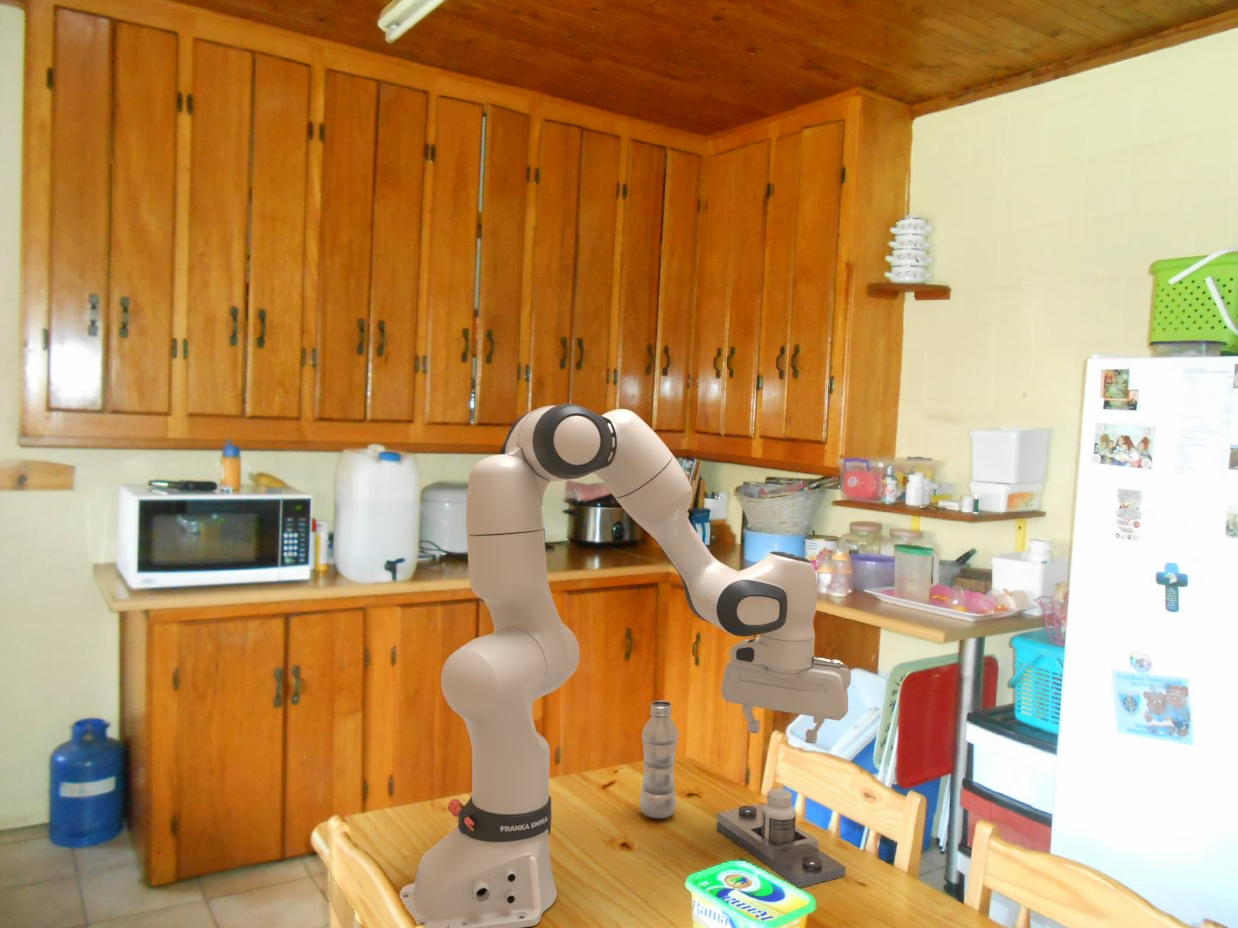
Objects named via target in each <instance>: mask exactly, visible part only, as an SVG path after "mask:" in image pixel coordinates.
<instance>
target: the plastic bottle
mask: <svg viewBox="0 0 1238 928" xmlns="http://www.w3.org/2000/svg"><path fill="white" fill-rule="evenodd" d="M672 706H673V705H672V702H669V701H666V700H655V701H652V702H651V703H650V712H649V715H650V718H649V719H648V720H647V722H646V723H645V724H644V726H643V729H642V733H641V739H642V740H641V741H642V749H643V763H644V764H643V776H642V777H643V778H642V787H641V791H640V795H639V796H640V797H639V806H640V811H641V812H642V814H643V815H644V816H645V817H646V818H649V819H655V820H664V819H668V818H670V817H671V816H673V814H674V813H675V811H676V808H677V807H676V806H677V795H676V790H675V760H676V759H675V758H676V752H677V747H678V739H679V733H678V732H679V731H678V729H677V726H676V724H675V723H674V721H673V720H672V718H671V716H672V715H673V711H672Z"/></svg>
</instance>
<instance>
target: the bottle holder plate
mask: <svg viewBox="0 0 1238 928" xmlns="http://www.w3.org/2000/svg"><path fill="white" fill-rule="evenodd" d="M763 806H764V805H763V804H761V803H758V804H754V805H742V806H738V807H739V808H734V809H728V810H724V811H718V812H717V813H716V814H717V815H716V820H717V821H716V831H718V832H719V833H721V834H722V835H723V836H725V837H727V838H728V839H729V840H730V841H732V842H733V843H734V844H736V845H737V846H739V847H740V848H741V849H743V850H745V851H746V852H747V853H749V854H750V855H751V856H753V857H755V859H757V860H758V861H759V862H761V863H763V864H764V865H766V866H767V867H768V868H770V869H772V870H773V871H774V872H775V873H777V874H779V875H780V876H781V877H782V878H784V879H785V880H787V881H788V882H789V883H791V884H793V885H794V886H795V885H796V886H795V887H797V886H798V887H799V888H798V887H797V888H798V889H801V888H806V887H809V886H814V885H817V884H816V883H818V884H821V882H822V883H824V882H823V881H825V882H828V880H829V881H831V880H830V879H833V880H836V879H835V878H837V879H840V878H839V877H841V878H844V877H843V876H845V877H846V866H845V865H843V864H842V863H840V862H838V861H837V860H835V859H834V858H832V857H830V856H829V855H828V854H826V853H825V852H823V851H821V850H820V849H819V840H818V839H817V838H816V837H814V836H813V835H811V834H809V833H808V832H806V831H804V830H803V829H801V828H800V827H798V826H797V825H795V841H794V842H790V843H786V844H781V845H777V846H774V845H773V844H771V843H770V842H768V841H767V840H765V839H764V838H762V837H761V832H762V809H763Z"/></svg>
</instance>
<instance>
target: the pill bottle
mask: <svg viewBox="0 0 1238 928" xmlns="http://www.w3.org/2000/svg"><path fill="white" fill-rule="evenodd" d="M792 804H793V794H792V792H791V791H789V790H787V789H782V788H773V789H770V790H768V791H767V796H766V803H765V804H764V805H763V809H762V832H761V837H762V838H764V839H765V840H767V841H768V842H770V843H771V844H773V845H774V846H777V845H781V844H786V843H790V842H794V841H795V826H796V820H797V819H796V817H797V815H796V813H797V811H796V809H795V807H794V806H793V805H792Z"/></svg>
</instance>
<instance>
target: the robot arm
mask: <svg viewBox="0 0 1238 928" xmlns="http://www.w3.org/2000/svg"><path fill="white" fill-rule="evenodd" d="M592 473H593V474H595V476H597V478H599V480H601V481H603V483H604V484H605V485H606V487H607V489H608V490H609V492H610V493H611V494H612V496H613V497H614V498H615V500H616V501H617V503H618V504H619V505H620V506H621V507H622V509H623V510H624V511H625V512H626V513H627V514H628V515H629V516H630V517H631V519H632V520H633V521H634V522H636V523H637V524H638V525H639V527H640V528H642V529H644V531H645V532H647V534H648V535H650V536H651V537H652V538H653V539H654V540H655V541H656V543H657V545H658V546H659V547H660V548H661V550H662V552H663V553H664V555H665V556H666V557H667V559H668V560H669V562H670V563H671V564H672V566H673V567H674V569H675V571H676V572H677V574H678V575H679V577H680V580H681V582H682V585H683V589H684V594H685V598H686V602H687V604H688V608H689V609H690V610H691V612H692V613H693V614H694V615H695V617H697V618H698V619H700V620H702V621H704V622H707V623H709V624H712V625H713V626H715V627H717V628H718V629H720V630H722V631H723V632H726V633H727V634H729V635H731V636H736V637H741V638H742V637H752V636H759V637H753V638H749V639H748V638H747V639H743V640H741V641H739V642H737V643H735V644H734V645H733V646H731V648H730V650H729V658H730V661H729V662H727V664H726V666H725V668H724V672H723V677H722V683H721V696H722V698H723V700H724V701H725V702H726V703H731V704H737V705H742V706H741V707H742V708H741V709H742V713H743V715H744V717H745V719H746V721H747V724H748V725H747V732H748V733H751V734H758V733H760V725H761V721H760V720H758V719H756V718H755V716H754V713H753V712H752V711H753V710H754V709H755V707H756V708H761V709H766V710H773V711H779V712H783V713H784V712H785V713H791V714H795V715H804V716H809V717H813V720H812V721H813V723H814V724H816V725H815V726H814V728H813V729H812V728H811V729H810V728H808V729H807V730H806V731H805V743H807V744H808V743H809V744H812V745H813V744H814V745H815V744H816V743H817V739H818V731H819V730H820V728H821V727H822V725H823V724H824V723H825V720H826V719H827V720H831V721H832V720H833V721H838V722H839V721H841V720H842V719H843V718H845V717H846V716H847V714H848V711H849V692H848V688H849V687H850V685H851V679H852V678H851V675H852V673H851V672H852V671H851V670H850V667H848V665H846V663H843V660H840V659H830V658H825V657H820V656H815V646H816V645H815V640H816V632H815V629H814V620H815V615H816V613H817V602H818V587H817V586H818V585H817V581H818V580H817V573H816V572H817V571H816V569H815V565H814V564H813V562H812V561H810V560H809V559H808V558H805V557H803V556H800V555H797V554H796V555H795V554H793V553H788V552H784V551H771V552H768V554H767V555H765V557H764V558H762V559H761V560H759V561H758V562H756V563H755V564H753V565H750V566H749V567H747V568H744V569H742V570H741V569H740V570H737V569H734V568H733V567H731V566H729V565H728V564H726V563H724V562H722V561H720V560H718V559H717V558H715V556H714V555H712V553H711V552H710V550H709V549H708V547H707V546H706V544H705V542H703V539H701V537H700V536H699V535H700V534H698V532H697V531H696V530H695V528H694V527H693V525H692V523H691V521H690V520H689V519H690V518H689V517H688V511H689V509H690V507H691V505H692V500H693V488H692V486H691V483H690V481H689V479H688V477H687V475H686V472H685V471H684V469H683V467H682V466H681V465H680V462H678V460H677V458H676V457H675V456H674V454H673V453H672V452H671V450H670V449H669V447H667V444H665V442H664V441H663V440H662V439H661V438H660V437H659V435H658V434H657V433H656V432H655V431H654V430H653V429H652V428H651V427H650V426H649V425H648V423H646V422H645V421H644V420H643V419H642V418H641V417H640V416H639V415H638V414H636V412H634V411H632V410H629V409H626V408H617V409H612V410H610V411H608V412H605V413H603V414H602V415H601V414H598V413H596V412H594V411H592V410H590V409H588V408H586V407H584V406H581V405H579V404H578V405H577V404H572V403H562V404H558V405H553V404H552V405H545V406H542V407H539V408H536V409H534V410H532V411H529V412H526V413H524V414H523V415H522V416H520V417H519V418H518V419H517V420H516V421H515V422H514V423H513V424H512V426H511V427H510V429H509V432H508V433H507V436H506V438H505V441H504V443H503V444H502V447H501V449H500V451H499V452H498V454H495V455H490V456H487V457H485V458H483V459H481V460H479V461H478V462H477V463H475V464H474V465H473V467H472V469H471V470H470V473H469V475H468V476H469V477H468V484H467V492H466V507H465V509H466V511H465V512H466V513H465V524H466V525H465V528H466V541H467V542H466V544H467V546H466V547H467V560H468V562H467V563H468V575H469V586H470V589H471V591H472V592H473V594H475V596H476V597H478V599H481V600H482V601H483V603H484V604H485V606H486V607H487V609H488V611H489V614H490V617H491V620H492V624H493V632H492V633H489V634H485V635H481V636H478V637H476V638H475V637H474V639H472V640H470V641H468V642H467V643H465V644H464V645H462V646H460V648H458V649H457V650H455V651H454V652H453V653H451V655H449V657H447V658H446V660H445V662H444V664H443V666H442V670H441V675H440V685H441V690H442V691H441V692H442V694H443V698H444V699H445V701H446V703H447V705H448V706H449V707H450V709H452V711H453V712H455V713H456V714H457V715H459V716H460V717H461V718H462V720H463V721H464V725H465V726H466V729H467V732H468V736H469V739H470V746H471V760H472V761H471V767H472V768H471V771H472V773H471V774H472V775H471V796H470V798H469V799H468V801H467V802H466V803H465V804H463V803H462V802H461V801H460V800H459V799H458V798H452V799H451V800H449V802H448V803H447V807H446V808H447V810H448V812H449V813H450V814H451V815H452V816H453V817H455V818H458V819H457V826H456V827H454V828H453V829H452V830H451V831H450V832H449V833H447V835H445V836H444V837H443V838H441V839H440V840H439V841H438V842H437V843H435V844H434V845H433V846H432V847H430V848H429V850H427V851H426V852H425V853H424V854H423V855H422V857H421V858H420V860H419V863H418V866H417V869H416V875H415V880H414V882H413V883H409V884H407V885H404V886H403V887H402V888H401V890H400V891H399V894H398V896H399V895H400V898H401V899H402V902H403V904H404V905H405V908H407V910H408V911H409V912H410V914H411V915H412V916H413V917H414V919H415V921H416V924H420V925H423V926H425V927H426V928H527V927H533V926H536V925H538V924H539V922H540V921H541V919H542V915H543V913H544V912H546V911H547V910H548V909H549V908H550V907H551V906H553V904H554V903H555V901H556V899H557V897H558V890H557V887H556V883H555V880H554V875H553V869H552V861H551V853H550V852H551V851H550V837H549V835H550V834H551V831H552V830H551V829H552V819H553V817H552V816H553V815H552V814H553V811H552V798H551V796H550V793H549V792H550V764H551V763H550V760H551V750H550V746H549V743H548V741H547V739H546V738H545V737H544V736H542V735H541V734H540V733H539V732H537V729H536V725H535V721H534V715H533V714H534V713H533V705H534V703H535V701H536V700H537V699H539V698H542V697H543V696H546V695H549V694H550V693H553V692H555V691H556V690H558V689H559V688H560V687H561V686H563V684H565V683H566V682H567V681H568V680H569V678H571V677H572V676H573V674H574V673H575V671H576V670H577V669H578V666H579V663H580V659H581V657H580V656H581V655H580V654H581V653H580V651H581V650H580V645H579V642H578V639H577V636H576V635H575V634H574V633H573V631H572V630H571V629H570V628H569V627H568V626H567V625H566V624H565V623H564V622H563V621H562V619H561V617H560V614H559V613H558V609H557V607H556V604H555V601H554V598H553V594H552V591H551V587H550V583H549V576H548V567H547V565H548V564H547V556H546V555H547V553H546V542H545V529H544V528H545V527H544V517H543V509H542V507H543V502H544V501H543V500H544V495H545V492H546V490H547V488H548V486H549V484H550V483H551V482H563V481H568V480H577V479H581V478H583V477H586V476H588V475H590V474H592Z"/></svg>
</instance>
